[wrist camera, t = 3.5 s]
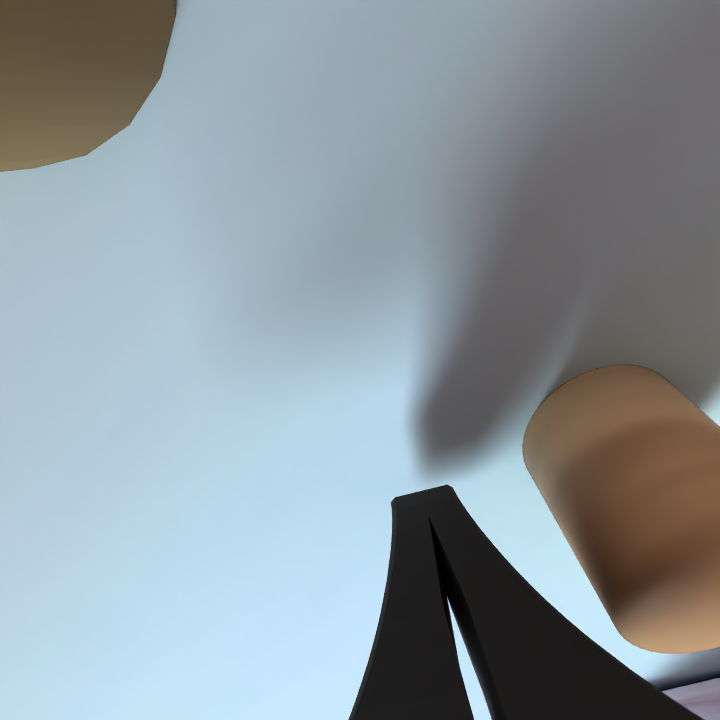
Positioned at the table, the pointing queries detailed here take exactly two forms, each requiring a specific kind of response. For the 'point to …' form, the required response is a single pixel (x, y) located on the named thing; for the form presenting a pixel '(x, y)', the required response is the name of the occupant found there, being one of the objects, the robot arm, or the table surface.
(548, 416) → the oak dowel
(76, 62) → the cork
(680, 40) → the table surface
